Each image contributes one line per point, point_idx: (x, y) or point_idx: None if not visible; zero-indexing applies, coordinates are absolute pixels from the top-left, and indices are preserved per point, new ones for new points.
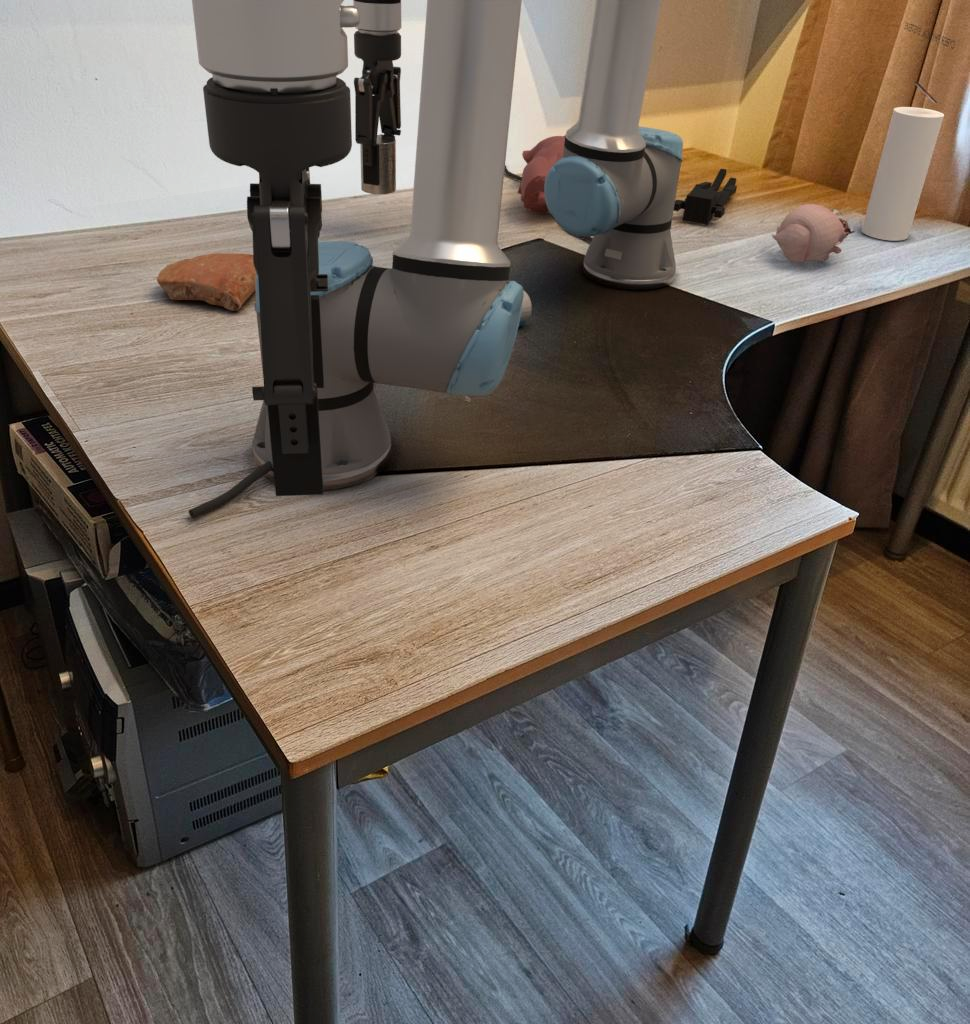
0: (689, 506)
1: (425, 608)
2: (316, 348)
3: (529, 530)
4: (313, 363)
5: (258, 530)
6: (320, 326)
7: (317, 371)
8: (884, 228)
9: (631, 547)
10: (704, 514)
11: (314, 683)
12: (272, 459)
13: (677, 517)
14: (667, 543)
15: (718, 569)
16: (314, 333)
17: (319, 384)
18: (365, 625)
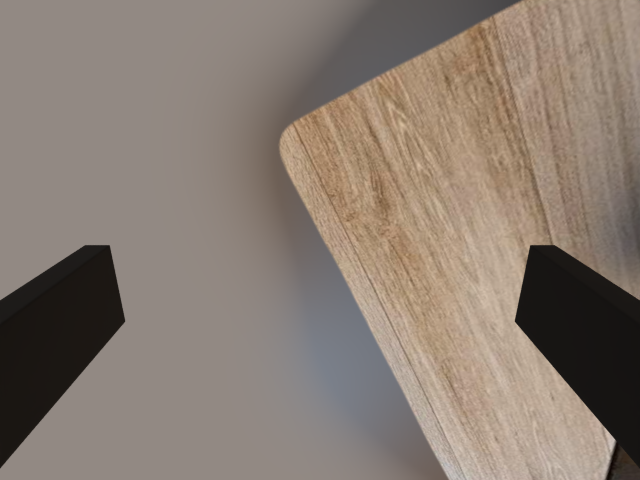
0: (528, 464)
1: (439, 250)
2: (571, 374)
3: (531, 346)
4: (549, 339)
5: (613, 84)
6: (613, 435)
7: (537, 333)
8: None
9: (485, 414)
10: (514, 471)
11: (356, 151)
12: (29, 282)
13: (516, 453)
14: (483, 438)
15: (443, 461)
16: (602, 403)
17: (521, 317)
18: (426, 197)
